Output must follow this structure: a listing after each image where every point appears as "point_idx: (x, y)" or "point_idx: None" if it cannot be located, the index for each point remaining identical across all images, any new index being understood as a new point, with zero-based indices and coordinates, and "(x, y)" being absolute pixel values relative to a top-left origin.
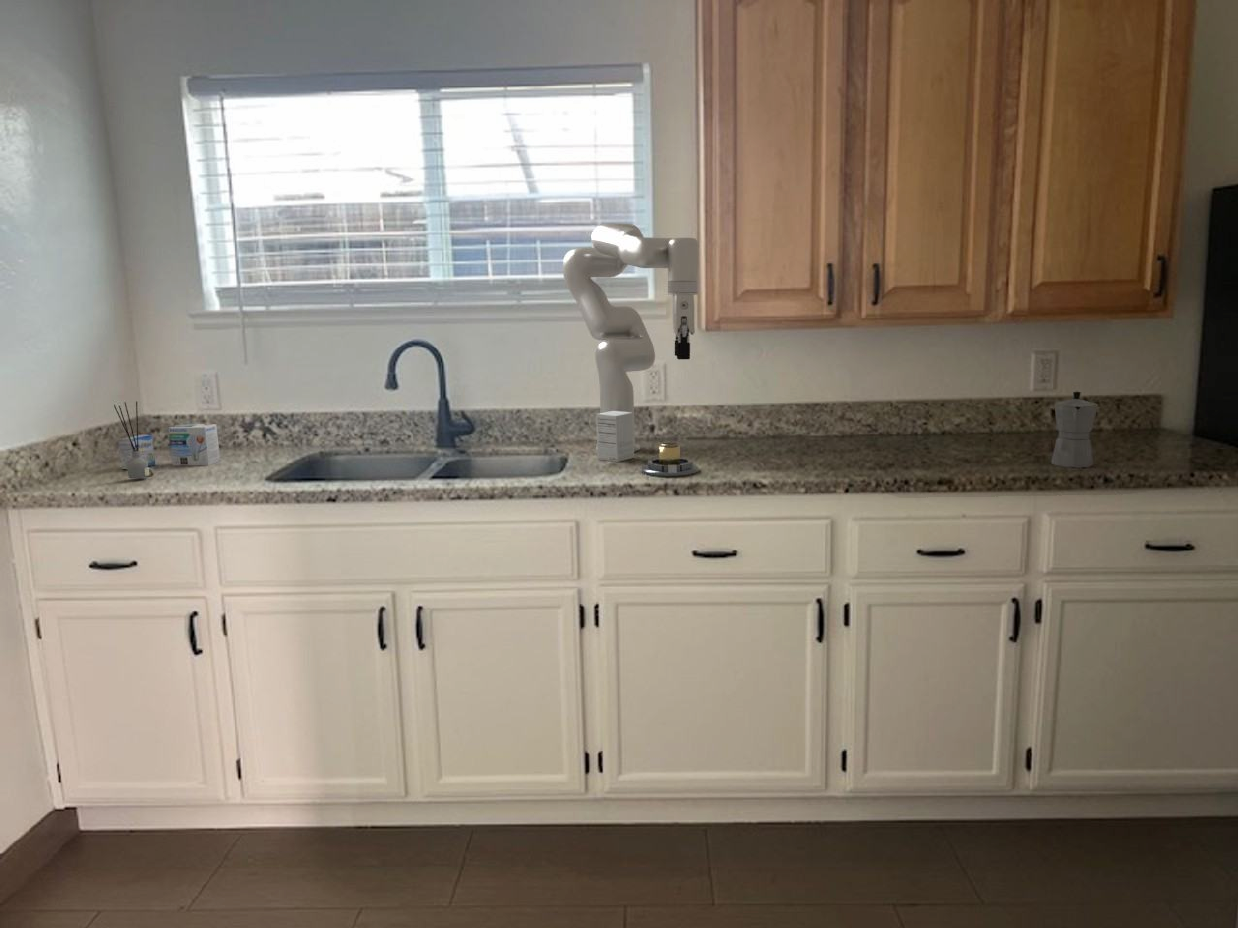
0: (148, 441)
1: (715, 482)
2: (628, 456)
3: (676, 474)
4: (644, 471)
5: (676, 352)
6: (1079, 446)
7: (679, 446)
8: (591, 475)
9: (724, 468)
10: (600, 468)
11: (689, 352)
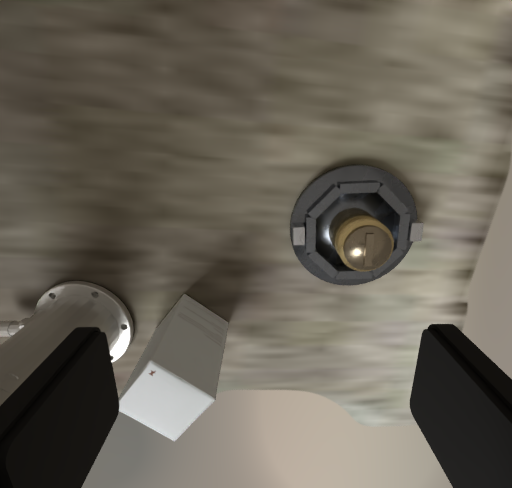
0: None
1: (495, 134)
2: (201, 307)
3: (416, 218)
4: (371, 280)
5: (108, 423)
6: None
7: (376, 222)
8: (356, 364)
9: (333, 95)
10: (290, 351)
11: (486, 363)
